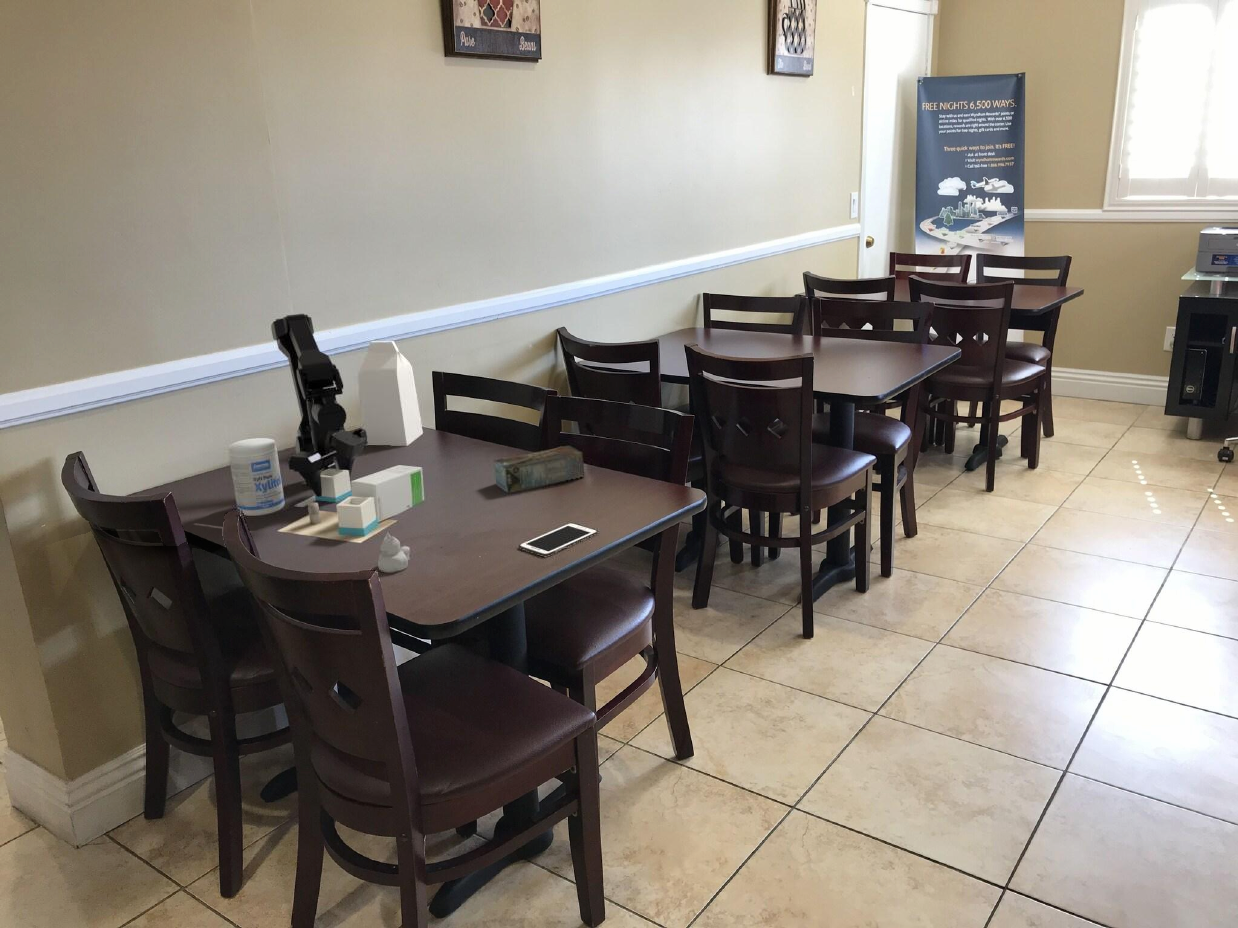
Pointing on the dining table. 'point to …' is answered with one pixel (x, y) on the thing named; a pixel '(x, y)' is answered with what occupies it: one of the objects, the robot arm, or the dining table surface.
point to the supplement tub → (256, 476)
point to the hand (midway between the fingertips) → (333, 489)
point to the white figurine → (393, 555)
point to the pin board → (327, 526)
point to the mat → (306, 502)
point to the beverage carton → (538, 469)
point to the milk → (388, 397)
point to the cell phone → (557, 539)
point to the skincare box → (391, 489)
